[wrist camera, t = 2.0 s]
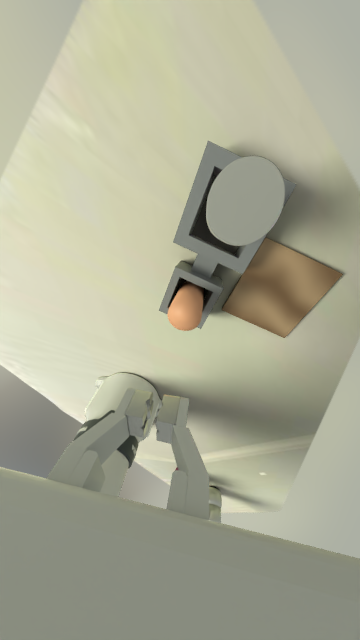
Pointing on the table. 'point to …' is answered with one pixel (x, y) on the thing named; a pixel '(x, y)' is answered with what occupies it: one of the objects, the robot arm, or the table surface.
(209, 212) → the container
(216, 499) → the plastic bottle
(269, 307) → the pad
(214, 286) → the housing
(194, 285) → the peach cylinder
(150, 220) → the table surface
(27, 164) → the table surface
